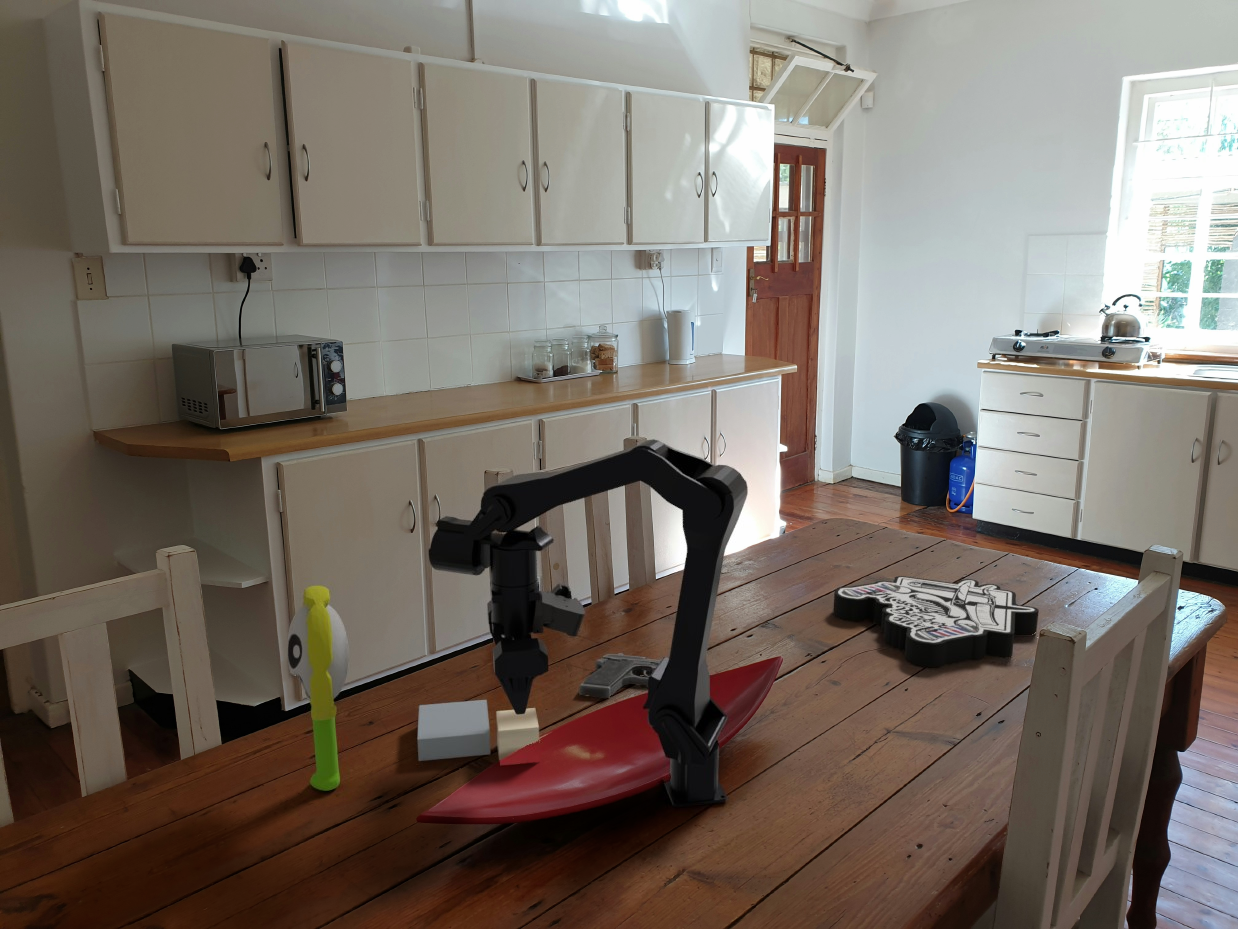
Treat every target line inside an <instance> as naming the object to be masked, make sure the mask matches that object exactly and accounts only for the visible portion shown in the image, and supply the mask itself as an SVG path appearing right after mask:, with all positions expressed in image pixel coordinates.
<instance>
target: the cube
mask: <svg viewBox="0 0 1238 929" xmlns="http://www.w3.org/2000/svg"><path fill="white" fill-rule="evenodd" d="M495 713H496V716H495V717H496V736H497V737H496V740H497V741H496V743H497V744H496V745H497V752H498V753H497V754H498V761H499V760H501V759H503V758H504V757H506V756H508V755H510V754H511V753H513V752H515V751H517V750H518V749H521V748H523V747H525V746H526V745H529V744H532V743H534V742H536V741H538V740H539V741H540V726H539V720H538V715H537V711H536V707H531V708H529V707H528V708H526V712H525V714H519V715H517V714H516V713H515V711H514V709H509V710H497V711H495Z"/></svg>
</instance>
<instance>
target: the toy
mask: <svg viewBox="0 0 1238 929" xmlns="http://www.w3.org/2000/svg"><path fill="white" fill-rule="evenodd" d="M302 599H303V602H302V606H301V607H299V609H298V610H297V611H296V612H295V614H294V616H293V618H292V620H291V621H290V625H289V630H288V634H287V642H286V647H287V648H286V649H287V650H286V653H287V662H288V663H287V664H288V668H289V672H290V674H291V675H293V676H297V679H298V681H299V682H300V684H301V685H302V686H301V687H303V690H304V692H305V697H306V700H307V701H309V703H310V704H309V705H310V706H311V708H310V713H311V715H310V717H311V719H312V730H313V741H314V754H315V756H314V757H315V765H316V766H315V767H316V772H315V773H314V774H313V775H312V776H311V778H310V779H309V780H310V781H309V782H310V785H311V786H312V787H313V788H314V789H316V790H319V791H324V792H326V791H331V790H334V789H336V788H338V786H339V785H340V782H341V776H340V771H339V759H338V744H337V743H338V742H337V732H336V731H337V730H336V720H335V719H336V716H337V709H338V708H337V706H336V705H335V700H334V699H335V698H336V697H338V695H339V694H340V693H341V691H342V689H343V688H344V686H345V683H346V680H347V678H348V672H349V662H350V649H349V648H350V646H349V640H348V636H347V635H348V634H347V631H346V628H345V626H344V623H343V620H342V619H341V617H340V615H339V614H338V612H337V611H336V610H335V609H334V608H333V607H332V606H331V605H330V602H331V595H330V589H329V588H327V587H326V586H323V585H312V586H308V587H306V588H305V589H304V591H303V598H302Z"/></svg>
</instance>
